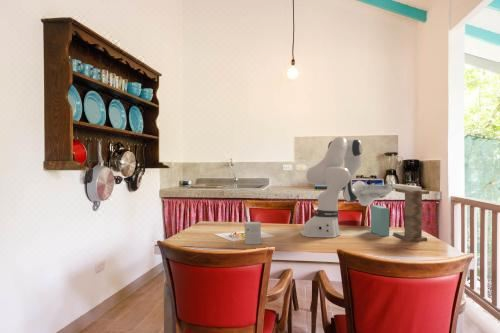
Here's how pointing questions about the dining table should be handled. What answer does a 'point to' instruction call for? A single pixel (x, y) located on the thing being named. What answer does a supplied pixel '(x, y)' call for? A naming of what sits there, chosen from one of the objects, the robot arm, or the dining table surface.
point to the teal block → (380, 220)
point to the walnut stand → (412, 216)
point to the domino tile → (406, 187)
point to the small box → (252, 232)
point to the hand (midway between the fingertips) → (381, 184)
